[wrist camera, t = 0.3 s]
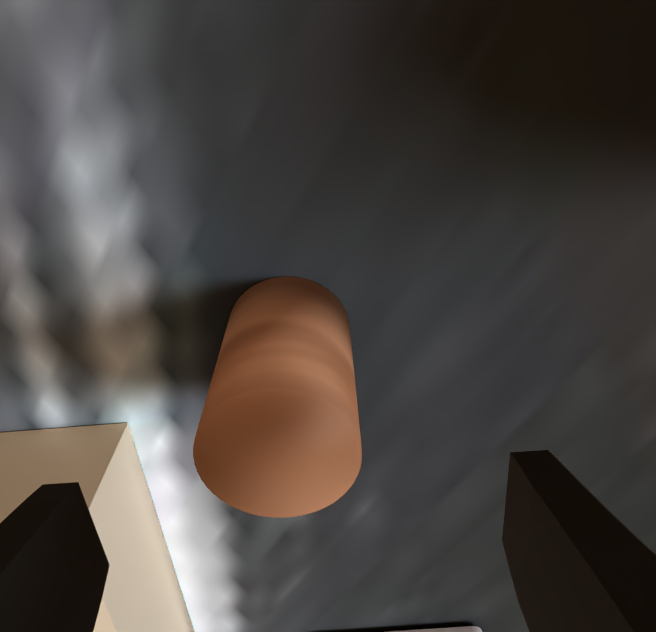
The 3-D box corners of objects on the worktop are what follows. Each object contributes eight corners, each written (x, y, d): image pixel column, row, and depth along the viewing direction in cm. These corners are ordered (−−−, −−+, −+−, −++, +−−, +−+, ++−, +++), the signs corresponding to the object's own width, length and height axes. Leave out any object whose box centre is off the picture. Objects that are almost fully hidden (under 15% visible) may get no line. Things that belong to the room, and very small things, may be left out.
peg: (353, 377, 20) (366, 511, 15) (238, 385, 20) (209, 522, 15) (345, 271, 18) (356, 382, 13) (218, 281, 18) (176, 396, 13)
